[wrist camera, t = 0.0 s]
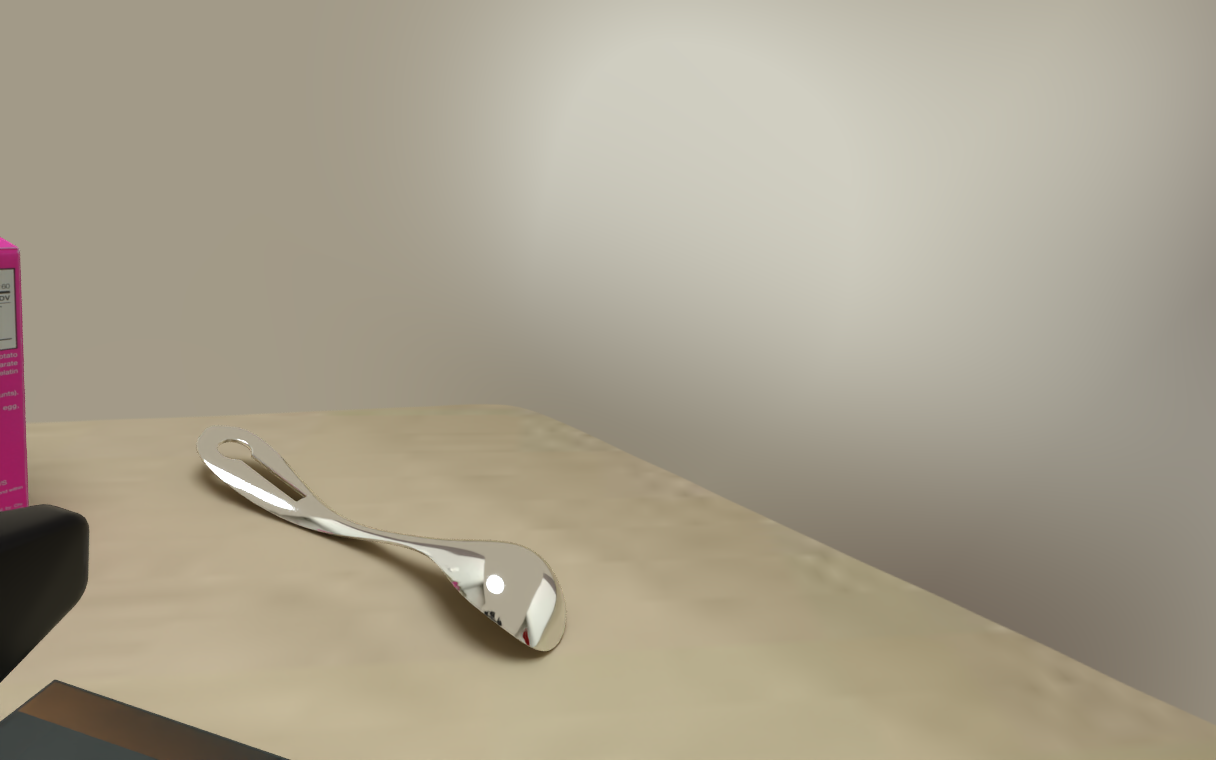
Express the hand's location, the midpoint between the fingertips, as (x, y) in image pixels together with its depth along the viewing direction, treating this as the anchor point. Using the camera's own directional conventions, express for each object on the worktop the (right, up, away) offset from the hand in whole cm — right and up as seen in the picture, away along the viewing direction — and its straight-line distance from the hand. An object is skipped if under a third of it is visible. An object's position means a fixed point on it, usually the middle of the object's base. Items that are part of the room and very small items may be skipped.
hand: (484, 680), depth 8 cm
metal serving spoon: (-10, -5, +26) cm, 28 cm away
